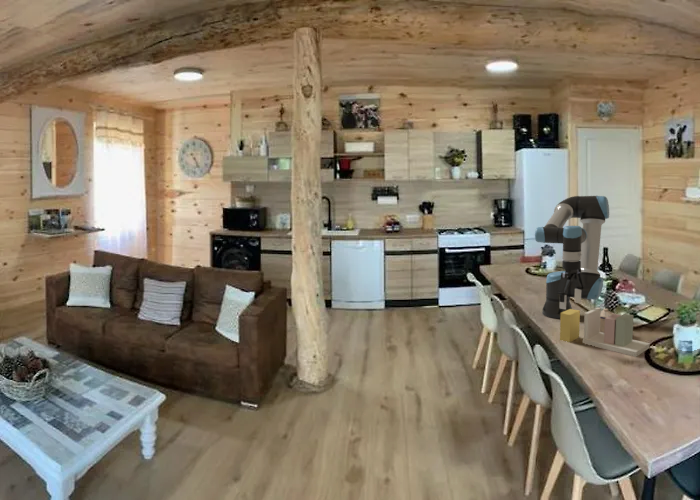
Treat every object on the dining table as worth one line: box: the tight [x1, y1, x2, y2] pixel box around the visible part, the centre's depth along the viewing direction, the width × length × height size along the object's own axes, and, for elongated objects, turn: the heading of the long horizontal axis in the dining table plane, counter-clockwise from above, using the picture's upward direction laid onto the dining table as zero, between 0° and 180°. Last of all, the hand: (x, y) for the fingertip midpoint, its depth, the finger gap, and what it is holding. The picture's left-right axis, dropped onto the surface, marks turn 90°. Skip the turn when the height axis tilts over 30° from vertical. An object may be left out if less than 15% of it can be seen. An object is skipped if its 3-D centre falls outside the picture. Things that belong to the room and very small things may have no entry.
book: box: [559, 308, 581, 343], centre depth 219 cm, size 4×9×13 cm, turn 128°
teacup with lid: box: [600, 308, 615, 333], centre depth 225 cm, size 12×9×12 cm
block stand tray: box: [582, 307, 650, 358], centre depth 208 cm, size 22×14×14 cm, turn 38°
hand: (570, 305), depth 217 cm, fingers open, 13 cm apart
